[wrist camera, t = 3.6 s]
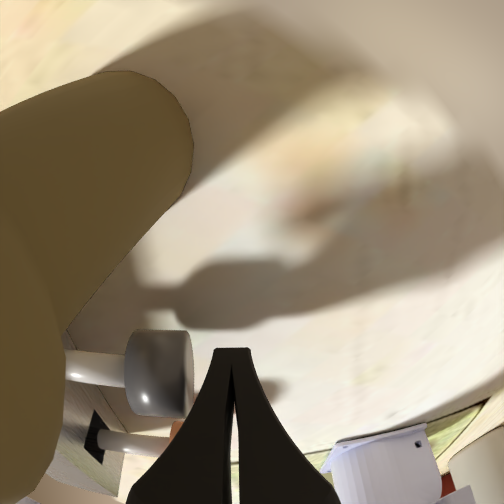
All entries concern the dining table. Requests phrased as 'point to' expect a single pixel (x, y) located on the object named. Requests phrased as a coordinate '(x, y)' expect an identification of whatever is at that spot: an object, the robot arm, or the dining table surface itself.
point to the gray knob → (143, 372)
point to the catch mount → (86, 439)
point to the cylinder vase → (481, 467)
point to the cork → (71, 235)
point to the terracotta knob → (136, 442)
